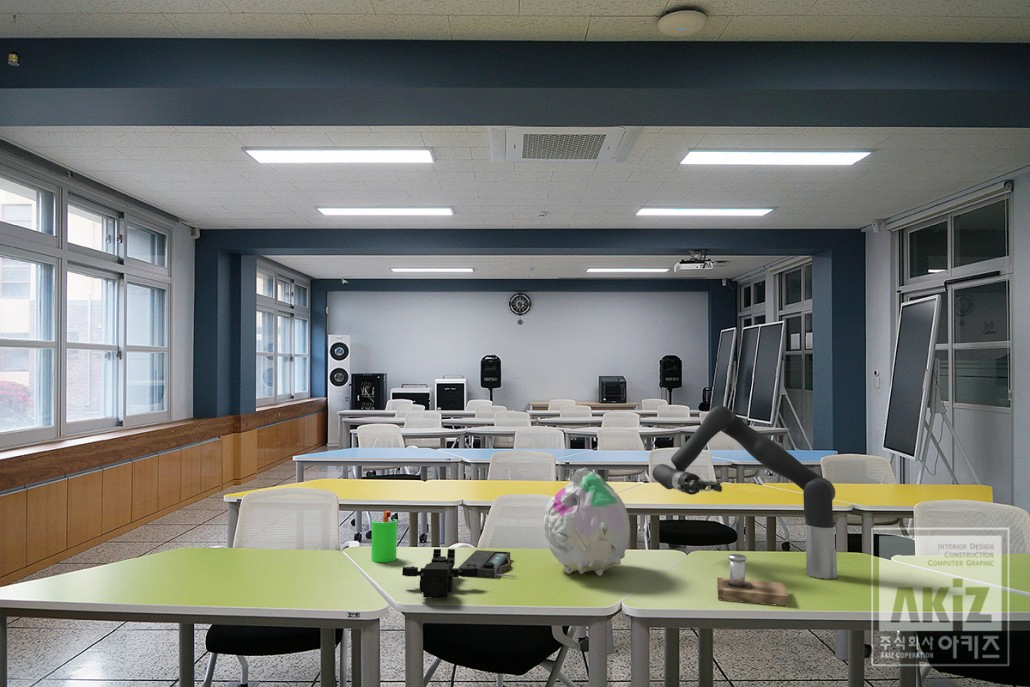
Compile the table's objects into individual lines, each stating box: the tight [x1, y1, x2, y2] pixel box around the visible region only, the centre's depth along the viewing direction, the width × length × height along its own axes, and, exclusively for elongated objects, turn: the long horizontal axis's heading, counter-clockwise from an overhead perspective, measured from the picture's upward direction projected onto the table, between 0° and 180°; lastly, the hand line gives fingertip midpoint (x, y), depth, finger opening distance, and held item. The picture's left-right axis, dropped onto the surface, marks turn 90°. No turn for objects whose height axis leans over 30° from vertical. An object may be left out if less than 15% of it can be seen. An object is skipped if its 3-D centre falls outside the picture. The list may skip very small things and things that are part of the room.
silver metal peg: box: [727, 553, 747, 588], centre depth 208 cm, size 5×5×12 cm
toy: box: [401, 548, 478, 599], centre depth 210 cm, size 24×10×30 cm
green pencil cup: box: [370, 510, 398, 563], centre depth 246 cm, size 9×8×18 cm
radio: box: [458, 549, 516, 579], centre depth 236 cm, size 25×4×20 cm
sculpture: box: [543, 467, 631, 577], centre depth 234 cm, size 33×36×30 cm
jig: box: [716, 577, 789, 607], centre depth 206 cm, size 20×14×3 cm
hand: (709, 489), depth 227 cm, fingers open, 8 cm apart
